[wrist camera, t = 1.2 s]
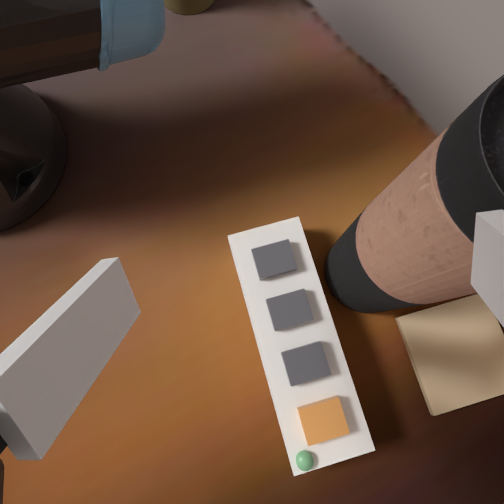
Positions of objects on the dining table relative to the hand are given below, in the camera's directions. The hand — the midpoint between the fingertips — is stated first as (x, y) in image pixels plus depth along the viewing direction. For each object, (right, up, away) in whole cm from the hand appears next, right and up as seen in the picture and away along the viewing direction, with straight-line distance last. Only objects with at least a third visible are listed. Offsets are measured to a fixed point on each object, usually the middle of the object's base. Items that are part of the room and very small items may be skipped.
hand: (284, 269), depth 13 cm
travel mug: (+9, -1, +18) cm, 20 cm away
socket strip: (+2, -7, +17) cm, 18 cm away
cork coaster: (+16, -8, +17) cm, 24 cm away
